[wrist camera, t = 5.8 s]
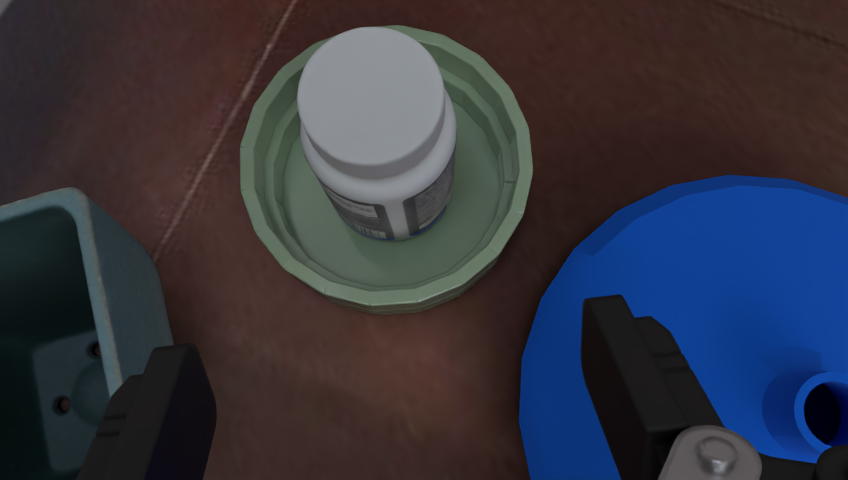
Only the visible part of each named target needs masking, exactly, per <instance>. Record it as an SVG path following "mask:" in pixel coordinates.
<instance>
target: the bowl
mask: <svg viewBox="0 0 848 480" xmlns="http://www.w3.org/2000/svg"><path fill="white" fill-rule="evenodd" d="M378 27H381V28H389V29H392V30H396V31H399V32H402V33H404V34H406V35H408V36H410V37H411V38H413V39H415V40H416V41H417V42H419V43H420V44H421V45H422V46H423V47H424V48H425V49H426V50H427V51H428V52H429V53H430V54H431V56H432V57H433V59H434V60H435V62H436V64H437V66H438V68H439V70H440V73H441V75H442V79H443V83H444V88H445V89H446V91H447V93H448V95H449V97H450V99H451V102H452V104H453V107H454V111H455V116H456V122H457V138H456V150H455V167H454V182H453V190H452V195H451V198H450V201H449V204H448V206H447V208H446V210H445V212H444V213H443V215H442V216H441V218H440V219H439V220H438V221H437V222H436V223H435V224H434V225H433V226H432V227H431V228H430V229H428V230H427V231H426V232H424V233H422V234H421V235H419V236H416V237H414V238H411V239H407V240H403V241H393V242H386V241H377V240H373V239H370V238H367V237H365V236H363V235H361V234H359V233H357V232H356V231H354V230H353V229H352V228H350V227H349V226H348V225H347V224H346V223H345V222H344V221H343V220H342V218H341V217H340V216H339V214H338V213H337V211H336V210H335V208H334V206H333V205H332V203H331V201H330V199H329V198H328V196H327V195H326V193H325V191H324V190H323V188H322V186H321V184H320V183H319V181H318V179H317V177H316V176H315V174H314V173H313V171H312V170H311V168H310V166H309V164H308V162H307V160H306V158H305V155H304V151H303V147H302V143H301V136H300V123H301V119H300V116H299V112H298V104H297V93H298V85H299V81H300V78H301V75H302V72H303V70H304V67H305V65H306V63H307V62H308V60H309V59H310V58H311V56H312V55H313V54H314V53H315V52H316V51H317V50H318V49H319V48H320V47H321V46H322V45H323V44H325V43H326V42H327V41H328V40H330V39H332V38H333V37H335V36H333V37H330V38H328V39H325V40H322V41H319V42H317V43H315V44H313V45H312V46H310V47H309V48H308V49H306V50H305V51H304V52H302V53H301V54H300V55H298V56H297V57H296V58H294V59H293V60H292V61H290V62H289V63H288V64H286V65H285V66H284V67H282V68H281V69H280V71H278V72H277V74H276V75H275V76H274V78H273V79H272V81H271V82H270V83H269V85H268V86H267V88H266V89H265V90H264V92H263V93H262V94H261V96H260V97H259V99H258V100H257V101H256V103H255V104H254V106H253V108H252V111H251V115H250V118H249V121H248V124H247V127H246V130H245V133H244V136H243V139H242V142H241V145H240V147H241V148H240V190H241V195H242V198H243V200H244V203H245V206H246V209H247V212H248V214H249V217H250V220H251V223H252V226H253V229H254V231H255V233H256V235H257V236H258V238H259V239H260V240H261V241H262V243H263V244H264V245H265V246H266V248H267V249H268V250H269V251H270V253H271V254H272V255H273V256H274V258H275V259H276V260H277V261H278V263H279V264H280V265H281V266H282V268H284V269H285V270H286V271H287V272H288V273H289V274H291V275H292V276H293V277H294V278H296V279H297V280H298V281H299V282H301V283H302V284H304V285H305V286H307V287H308V288H310V289H311V290H313V291H314V292H316V293H318V294H319V295H321V296H322V297H324V298H325V299H327V300H329V301H330V302H332V303H333V304H336V305H338V306H342V307H346V308H350V309H353V310H357V311H361V312H365V313H369V314H373V315H390V314H405V313H418V312H419V311H420V312H422V311H425V310H427V309H430V308H432V307H435V306H437V305H440V304H442V303H445V302H447V301H450V300H452V299H455V298H457V297H458V296H461V295H462V294H463V293H465V292H466V291H467V290H468V289H469V288H471V287H472V286H473V285H474V284H475V283H477V282H478V281H479V280H480V279H481V278H483V277H484V276H485V275H486V274H487V273H488V272H490V271H491V269H493V267H494V266H495V264H496V262H497V261H498V259H499V258H500V256H501V254H502V253H503V251H504V250H505V248H506V246H507V245H508V243H509V241H510V240H511V238H512V237H513V235H514V233H515V231H516V229H517V227H518V225H519V223H520V221H521V219H522V217H523V214H524V211H525V207H526V202H527V198H528V194H529V189H530V185H531V181H532V176H533V161H532V151H531V142H530V132H529V128H528V125H527V122H526V120H525V118H524V116H523V114H522V111H521V109H520V107H519V105H518V103H517V101H516V98H515V96H514V94H513V92H512V90H511V89H510V87H509V86H508V85H507V84H506V82H505V81H504V80H503V79H502V78H501V77H500V76H499V75H498V74H497V73H496V72H495V71H494V70H493V68H492V67H491V66H490V65H489V64H488V63H487V62H486V61H485V60H484V59H483V58H482V57H481V56H480V55H478V54H476V53H475V52H473V51H471V50H469V49H467V48H466V47H464V46H462V45H460V44H459V43H457V42H455V41H453V40H452V39H450V38H448V37H446V36H445V35H442V34H438V33H434V32H429V31H425V30H420V29H416V28H411V27H407V26H402V25H401V26H400V25H393V26H378ZM336 36H337V35H336Z"/></svg>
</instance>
